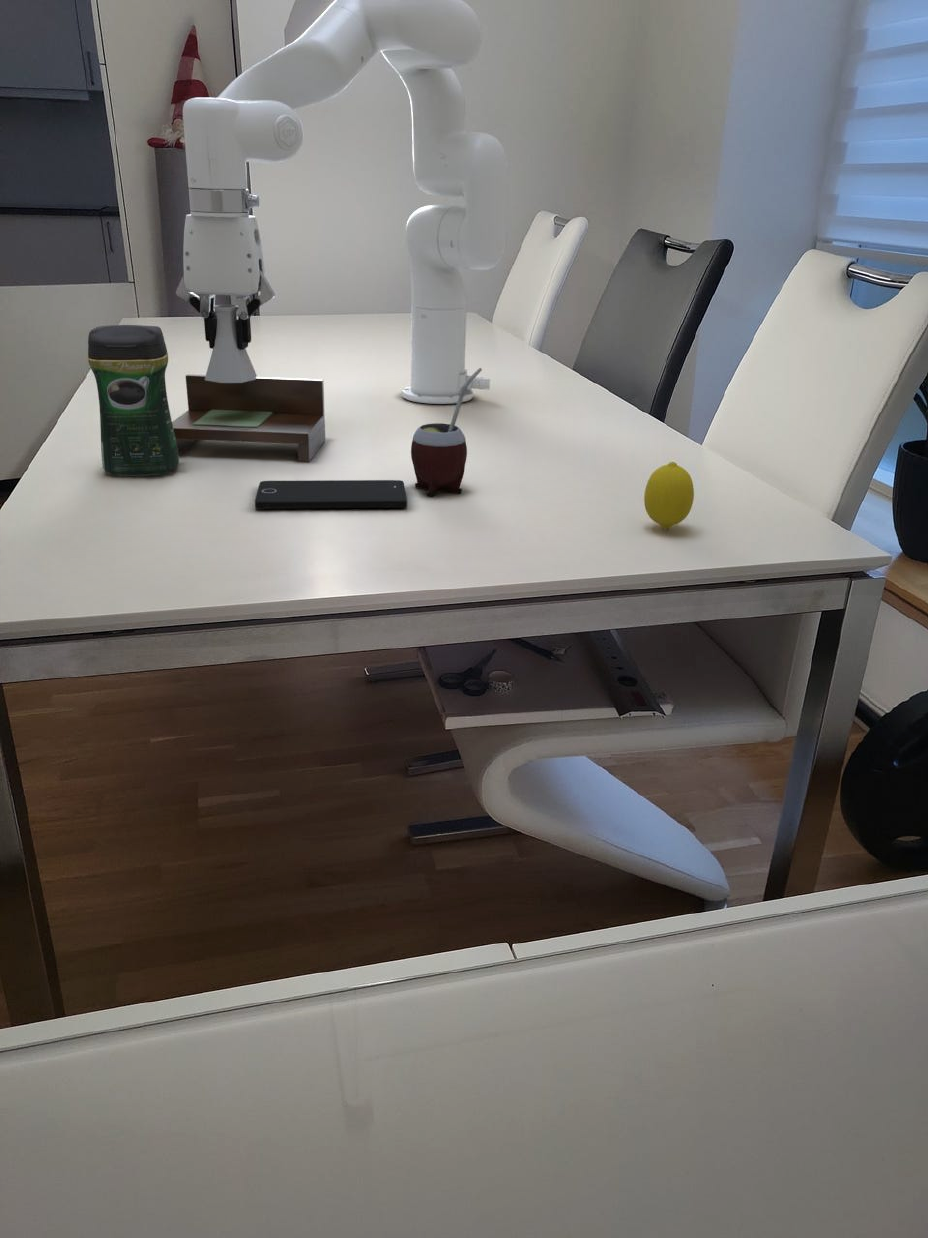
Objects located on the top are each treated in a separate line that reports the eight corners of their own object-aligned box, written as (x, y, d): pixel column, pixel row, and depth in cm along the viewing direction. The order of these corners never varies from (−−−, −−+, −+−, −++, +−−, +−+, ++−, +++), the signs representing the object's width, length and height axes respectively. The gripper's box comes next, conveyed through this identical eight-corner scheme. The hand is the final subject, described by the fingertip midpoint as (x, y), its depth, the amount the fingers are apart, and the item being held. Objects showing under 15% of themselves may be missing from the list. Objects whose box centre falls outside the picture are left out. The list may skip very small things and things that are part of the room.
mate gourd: (402, 493, 126) (402, 373, 120) (425, 477, 133) (427, 362, 127) (457, 501, 124) (460, 379, 118) (478, 484, 131) (482, 367, 125)
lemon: (635, 521, 119) (642, 455, 116) (681, 521, 119) (689, 455, 116) (647, 537, 114) (655, 468, 111) (695, 537, 114) (704, 468, 111)
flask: (245, 386, 137) (240, 310, 133) (195, 383, 138) (189, 307, 134) (265, 376, 144) (261, 303, 139) (217, 373, 145) (212, 301, 141)
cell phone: (260, 487, 127) (260, 480, 126) (403, 486, 129) (403, 479, 128) (254, 509, 119) (254, 502, 118) (407, 508, 121) (407, 500, 120)
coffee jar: (183, 461, 137) (169, 320, 130) (175, 477, 130) (160, 330, 122) (109, 462, 136) (91, 320, 128) (97, 478, 129) (78, 329, 121)
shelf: (325, 440, 149) (323, 379, 146) (309, 462, 139) (306, 396, 135) (192, 435, 150) (187, 374, 147) (166, 456, 139) (160, 391, 136)
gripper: (287, 204, 135) (293, 345, 142) (166, 201, 135) (179, 341, 143) (274, 207, 128) (281, 354, 135) (147, 203, 129) (161, 349, 136)
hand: (228, 346), depth 139 cm, fingers closed on flask, 3 cm apart
